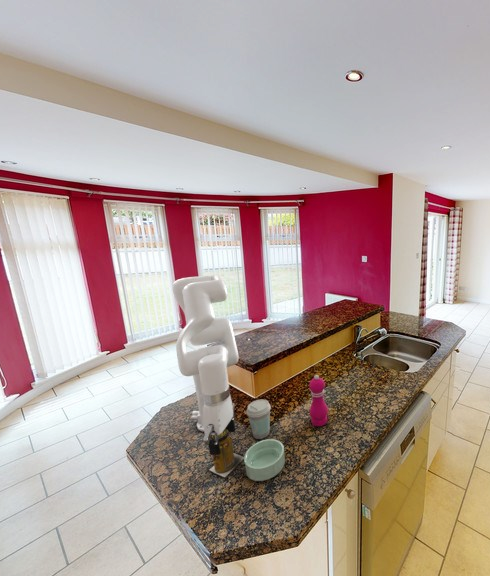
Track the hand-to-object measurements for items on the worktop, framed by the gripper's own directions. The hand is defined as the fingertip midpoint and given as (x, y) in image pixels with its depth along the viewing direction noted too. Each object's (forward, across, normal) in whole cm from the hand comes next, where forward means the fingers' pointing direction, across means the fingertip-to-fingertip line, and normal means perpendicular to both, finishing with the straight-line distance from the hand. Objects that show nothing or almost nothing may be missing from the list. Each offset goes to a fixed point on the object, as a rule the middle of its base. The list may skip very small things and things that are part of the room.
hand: (223, 442), depth 90 cm
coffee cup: (+9, -15, +6) cm, 18 cm away
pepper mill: (+9, -22, +27) cm, 36 cm away
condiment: (+9, 0, 0) cm, 9 cm away
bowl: (+9, 0, +13) cm, 16 cm away
